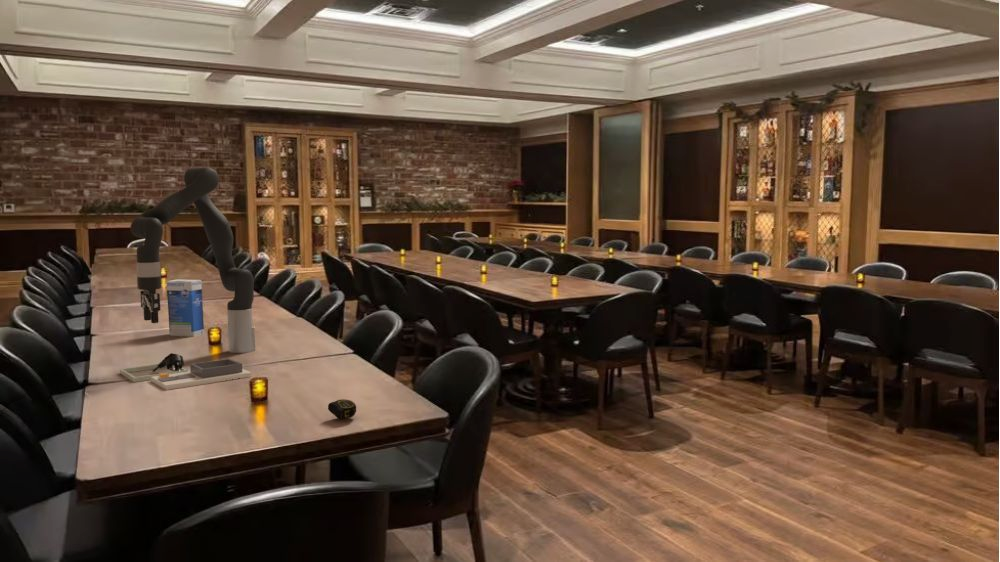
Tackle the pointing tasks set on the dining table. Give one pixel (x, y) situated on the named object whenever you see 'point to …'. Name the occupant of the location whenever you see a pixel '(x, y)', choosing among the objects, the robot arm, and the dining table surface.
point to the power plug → (171, 362)
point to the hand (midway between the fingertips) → (151, 321)
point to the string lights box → (185, 307)
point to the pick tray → (141, 368)
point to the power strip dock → (202, 374)
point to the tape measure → (342, 408)
